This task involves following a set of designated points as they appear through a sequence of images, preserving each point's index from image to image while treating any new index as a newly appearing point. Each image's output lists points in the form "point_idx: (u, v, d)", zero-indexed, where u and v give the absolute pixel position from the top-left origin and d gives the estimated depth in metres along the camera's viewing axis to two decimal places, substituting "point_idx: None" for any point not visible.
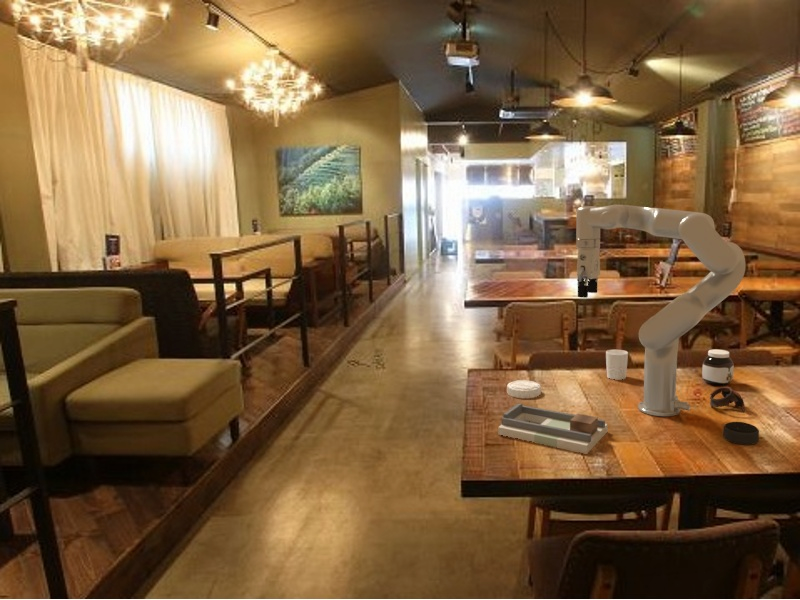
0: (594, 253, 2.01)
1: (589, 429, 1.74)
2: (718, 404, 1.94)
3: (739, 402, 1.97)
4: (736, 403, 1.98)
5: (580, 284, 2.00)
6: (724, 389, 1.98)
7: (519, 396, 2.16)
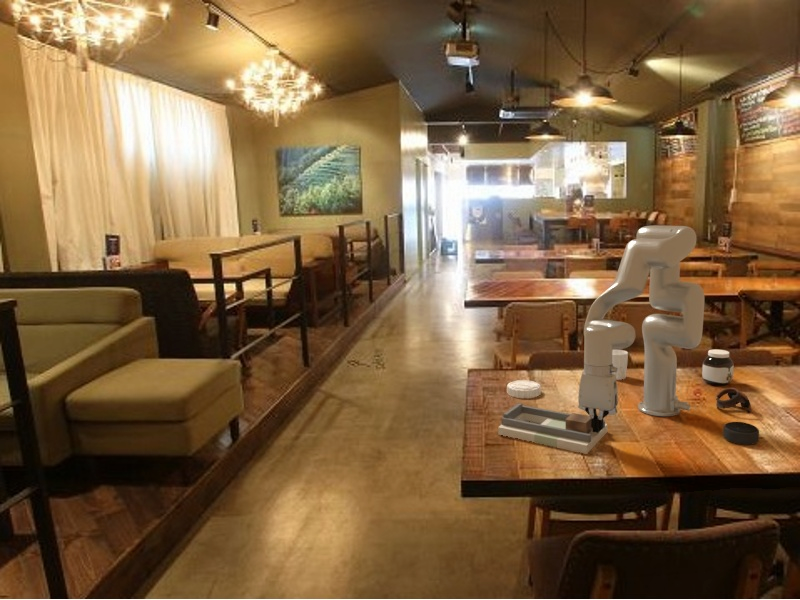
0: None
1: (584, 428, 1.74)
2: (725, 405, 1.93)
3: (745, 403, 1.96)
4: (742, 404, 1.97)
5: (603, 417, 1.73)
6: (730, 390, 1.96)
7: (519, 396, 2.16)
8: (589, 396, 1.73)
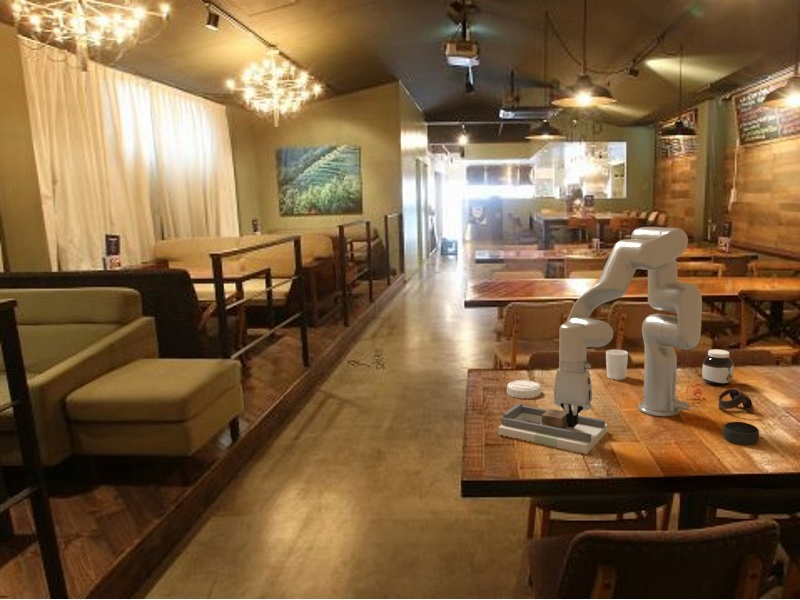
0: None
1: (560, 424, 1.79)
2: (727, 406, 1.92)
3: (747, 404, 1.95)
4: (744, 405, 1.97)
5: None
6: (732, 391, 1.96)
7: (519, 396, 2.16)
8: (564, 392, 1.77)
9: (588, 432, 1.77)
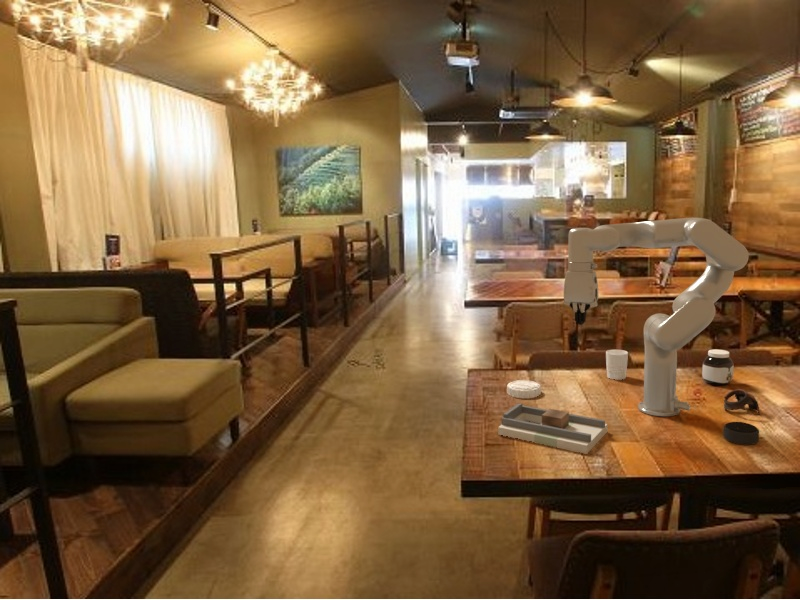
0: None
1: (560, 424, 1.79)
2: (733, 407, 1.91)
3: (753, 405, 1.94)
4: (750, 406, 1.96)
5: (585, 310, 1.95)
6: (738, 392, 1.95)
7: (519, 396, 2.16)
8: (573, 291, 1.94)
9: (588, 432, 1.77)
